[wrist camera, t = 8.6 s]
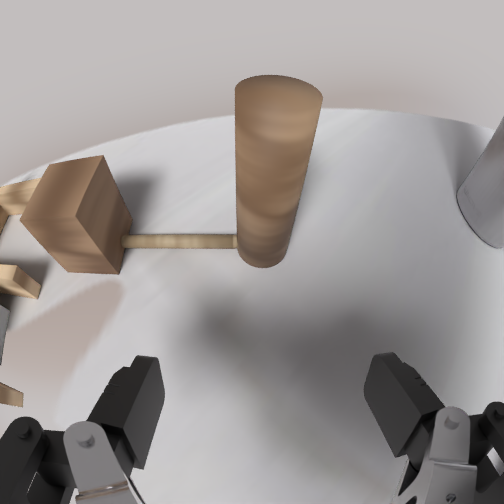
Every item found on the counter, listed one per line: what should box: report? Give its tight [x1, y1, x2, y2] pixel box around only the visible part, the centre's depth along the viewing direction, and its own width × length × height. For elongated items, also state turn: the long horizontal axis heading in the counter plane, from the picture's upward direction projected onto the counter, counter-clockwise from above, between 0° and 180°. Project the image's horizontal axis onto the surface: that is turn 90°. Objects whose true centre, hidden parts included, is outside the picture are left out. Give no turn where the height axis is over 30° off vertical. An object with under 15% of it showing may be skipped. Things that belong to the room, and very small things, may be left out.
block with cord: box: [20, 75, 323, 274], centre depth 15 cm, size 17×5×12 cm, turn 91°
